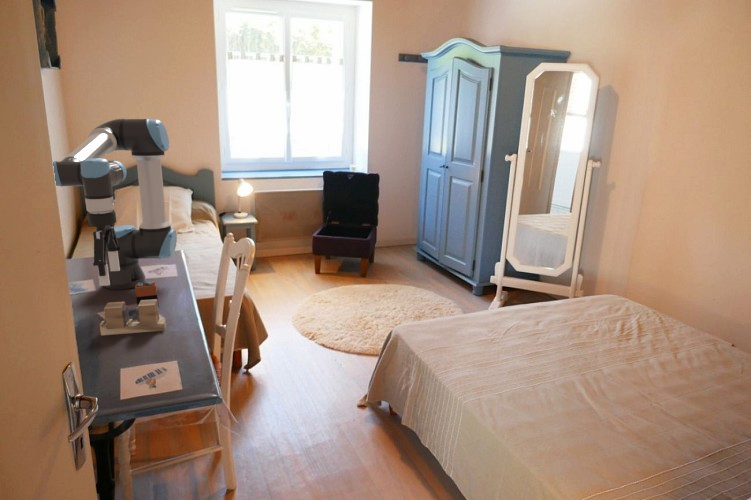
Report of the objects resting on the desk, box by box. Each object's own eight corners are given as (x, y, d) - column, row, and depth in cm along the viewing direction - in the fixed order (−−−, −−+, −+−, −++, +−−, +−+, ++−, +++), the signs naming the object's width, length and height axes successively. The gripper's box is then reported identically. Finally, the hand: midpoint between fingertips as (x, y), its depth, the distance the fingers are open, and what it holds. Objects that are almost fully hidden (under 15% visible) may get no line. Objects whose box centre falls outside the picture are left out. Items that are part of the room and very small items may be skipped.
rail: (104, 330, 168) (100, 303, 165) (166, 325, 172) (163, 298, 170) (100, 336, 163) (96, 309, 161) (164, 331, 168) (161, 304, 165)
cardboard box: (110, 322, 168) (107, 302, 166) (130, 321, 169) (127, 301, 167) (106, 329, 163) (103, 308, 161) (126, 327, 164) (124, 307, 162)
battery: (158, 309, 185) (155, 283, 182) (137, 312, 183) (134, 285, 180) (158, 305, 189) (156, 279, 186) (138, 307, 186) (135, 281, 184)
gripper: (104, 220, 145) (114, 291, 151) (123, 202, 168) (131, 264, 174) (74, 221, 143) (85, 292, 149) (98, 203, 166) (106, 265, 172)
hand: (110, 277), depth 162 cm, fingers open, 13 cm apart
